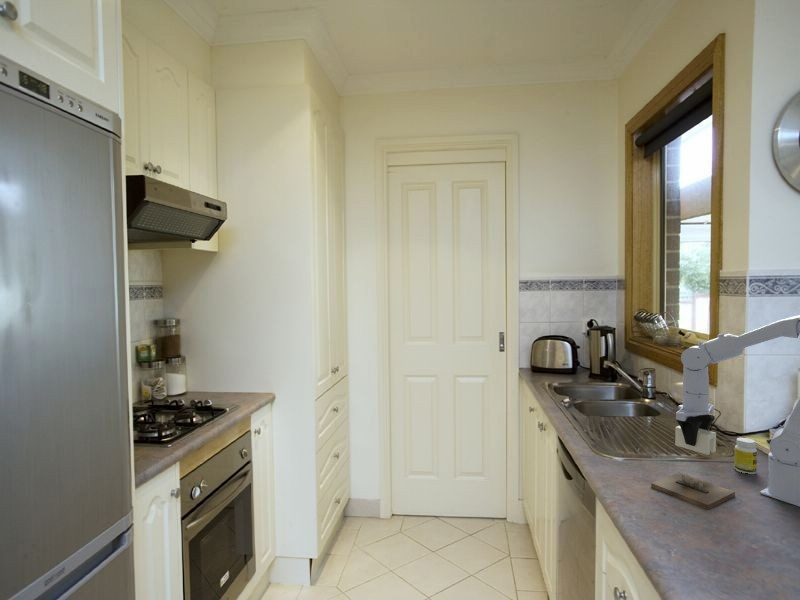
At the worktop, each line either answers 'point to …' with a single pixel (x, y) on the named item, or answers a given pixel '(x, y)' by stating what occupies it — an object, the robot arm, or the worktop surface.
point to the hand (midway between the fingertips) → (695, 443)
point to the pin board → (693, 490)
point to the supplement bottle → (745, 456)
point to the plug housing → (697, 441)
